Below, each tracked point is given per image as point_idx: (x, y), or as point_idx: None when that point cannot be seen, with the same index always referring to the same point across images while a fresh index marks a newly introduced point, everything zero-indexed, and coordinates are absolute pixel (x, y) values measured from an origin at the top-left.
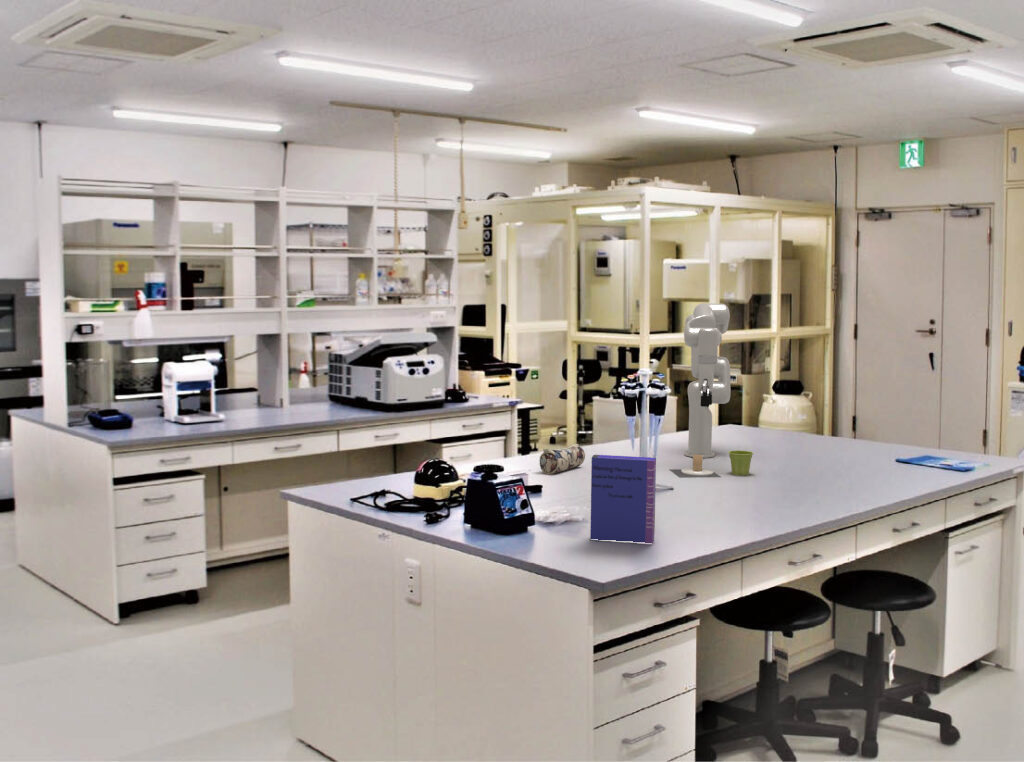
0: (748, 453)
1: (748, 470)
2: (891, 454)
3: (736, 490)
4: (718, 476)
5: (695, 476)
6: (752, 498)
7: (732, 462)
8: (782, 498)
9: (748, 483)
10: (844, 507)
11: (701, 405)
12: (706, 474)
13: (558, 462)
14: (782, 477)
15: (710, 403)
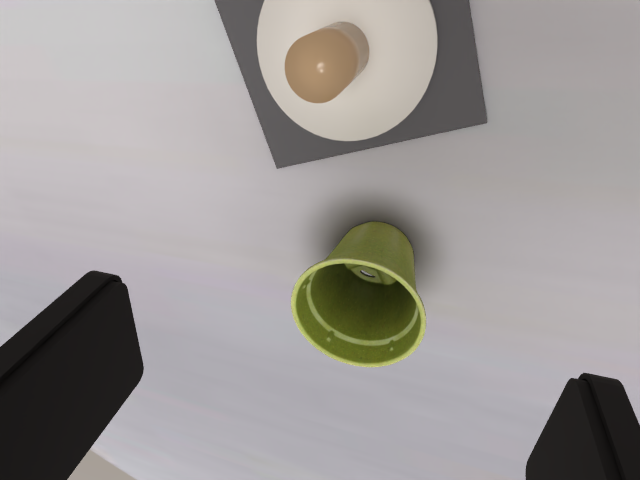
0: (399, 348)
1: (355, 292)
2: None
3: (80, 198)
4: (285, 156)
5: (250, 40)
6: (3, 228)
7: (338, 249)
8: (50, 302)
9: (211, 253)
10: None
11: (88, 286)
12: (278, 101)
13: None
14: (359, 377)
15: (531, 478)
